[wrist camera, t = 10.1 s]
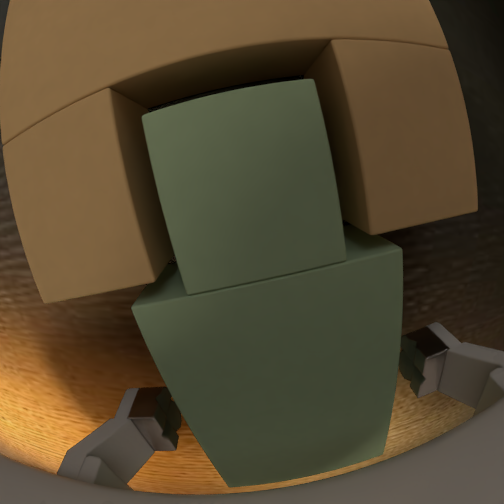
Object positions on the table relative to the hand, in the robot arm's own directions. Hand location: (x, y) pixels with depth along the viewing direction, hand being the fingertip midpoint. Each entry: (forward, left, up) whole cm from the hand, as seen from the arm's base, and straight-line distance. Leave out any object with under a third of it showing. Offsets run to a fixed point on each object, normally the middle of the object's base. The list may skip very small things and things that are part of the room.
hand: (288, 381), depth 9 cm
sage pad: (-2, 0, -2) cm, 2 cm away
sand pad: (-11, 0, -2) cm, 11 cm away
